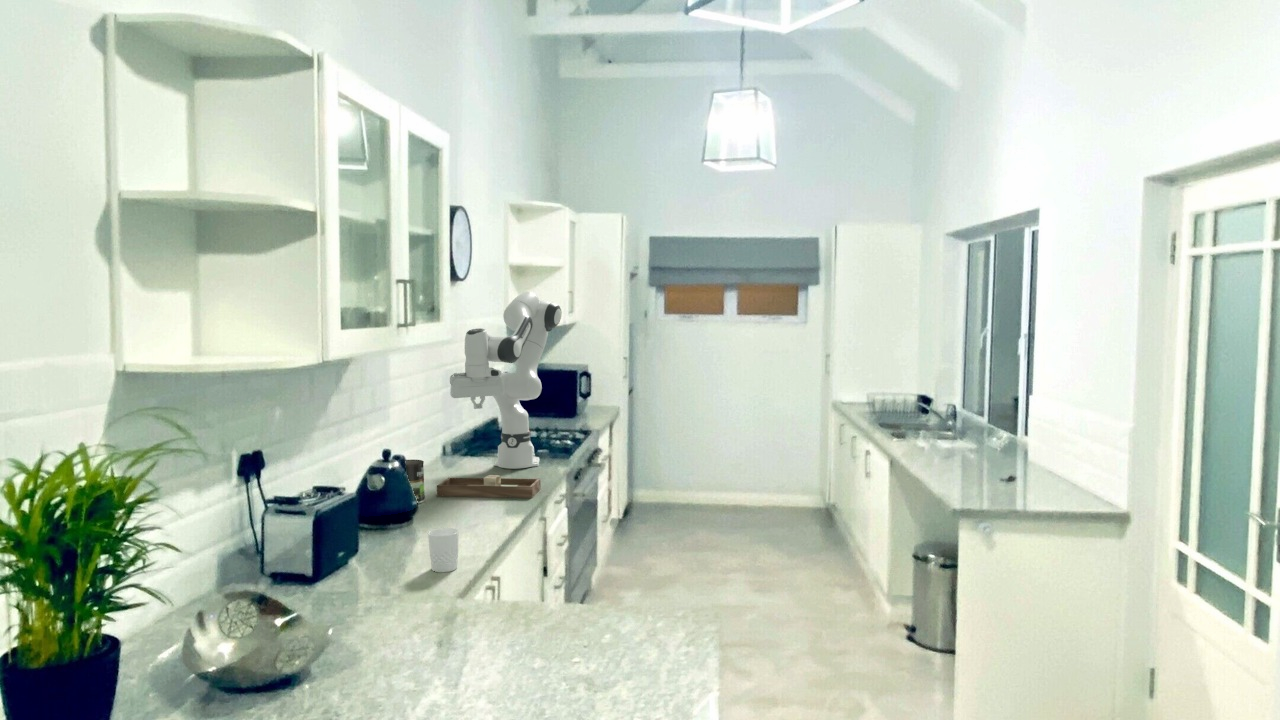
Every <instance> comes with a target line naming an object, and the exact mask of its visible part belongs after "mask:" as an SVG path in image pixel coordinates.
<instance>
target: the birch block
mask: <svg viewBox="0 0 1280 720" xmlns="http://www.w3.org/2000/svg"><path fill="white" fill-rule="evenodd" d="M483 478H484V486H501V478H502V477H501V475H497V474H495V475H493V474H489V475H486V476H484V477H483Z"/></svg>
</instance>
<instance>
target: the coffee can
mask: <svg viewBox="0 0 1280 720" xmlns="http://www.w3.org/2000/svg"><path fill="white" fill-rule="evenodd" d="M404 460H405V461H406V470H407V475H408V479H409V481H410V483H411V485H412V488H413V491H414V494H415V496H416V498H417V501H418V504H417V505H419V504H423V503H424V502H425V501H426V499H425V472H424V471H425V468H424V467H425V466H424V463H425V462H424V460H422V459H404Z"/></svg>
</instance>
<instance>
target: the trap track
mask: <svg viewBox="0 0 1280 720" xmlns="http://www.w3.org/2000/svg"><path fill="white" fill-rule="evenodd" d="M540 491H541V478H511V477H509V478H502V477H501V486H484V477H447V478H446V479H444V480H443V481H441V482H440V483H438V484H436V497H439V498H440V497H444V498H447V497H448V498H449V497H451V498H453V497H454V498H457V497H458V498H506V497H517V498H516V499H524V498H526V499H527V498H528V499H532V498H534V497H535V496H536V495H537V494H538V493H539V492H540Z"/></svg>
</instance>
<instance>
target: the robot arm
mask: <svg viewBox="0 0 1280 720" xmlns="http://www.w3.org/2000/svg"><path fill="white" fill-rule="evenodd" d="M502 316H503V320H504V321H503V322H504V323H505V325H506V326H507V327H508V329H510V330H511V331H513V334H512V335H509V336H491V335H490V334H489V333H487V330H486V328H473V329H469V330H467V331H466V334H465V336H464V356H465V362H464V372H458V373H457V372H455V373H453V374H451V375H450V376H449V384H450V391H449V394H450V397H451V398H453V399H463V398H464V399H465V398H470V401H471V403H472V404H473V409H474V410H477V409H480V410H481V409H483V404H484V402H485V400H486V397H493V399H495V401H496V403H497V406H498V409H499V411H500V417H501V429H502V430H501V435H500V439H501V443H500V444H499V445H497V461H495V462H494V464H493V465H494V466H495V467H498V468H501V469H511V470H513V469H515V470H516V469H525V468H531V467H532V468H533V467H539V465H540V457H539V456H536V454H535V447H534V445H533V443H532V441H531V430H530V429H529V428H530V427H529V425H530V423H529V413H528V411H527V410H526V409H524V407H523V406H522V405H521V403H520V401H530V400H535V399H537V398H538V397H539V396H540V395H541V393H542V389H543V387H542V382H541V379H540V378H539V376H538V367H539V364H540V360H541V359H542V356H543V353H544V350H545V347H546V346H547V345H546V344H547V341H548V337H549V336H548V335H549V332H551V331H552V330H553V329H554V328H556V327H557V326H558V325H559V324H560V321H561V319H562V309H561V306H560V305H559V304H557V303H555V302H553V301H552V302H550V301H547V300H542V299H540V298H539V297H538V296H537V295H536V293H534V292H532V291H524V292H522V293H520V294H519V295H517V296H516V297H515V298H514V299H513V300H512V301H511V302H510V303H509V304H508V305H507V306H506V308H505V310H504V311H503V315H502ZM489 362H492V363H493V362H494V363H496V362H498V363H507V364H515V365H516V369H515V372H502V371H501V370H499V369H497V368H493V367H490V365H489ZM477 397H479V399H480V401H479V403H476V398H477Z"/></svg>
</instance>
